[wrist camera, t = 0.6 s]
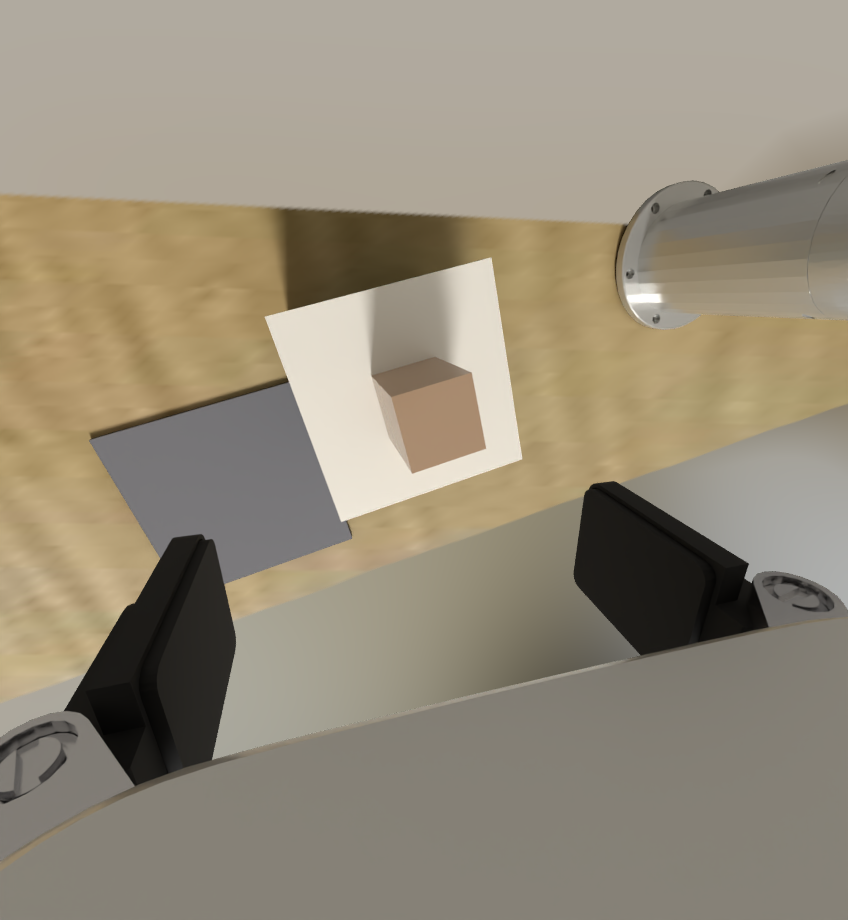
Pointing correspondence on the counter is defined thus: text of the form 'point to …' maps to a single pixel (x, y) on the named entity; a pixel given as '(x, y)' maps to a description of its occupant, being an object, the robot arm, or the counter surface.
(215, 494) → the mat
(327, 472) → the lid
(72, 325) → the counter surface
